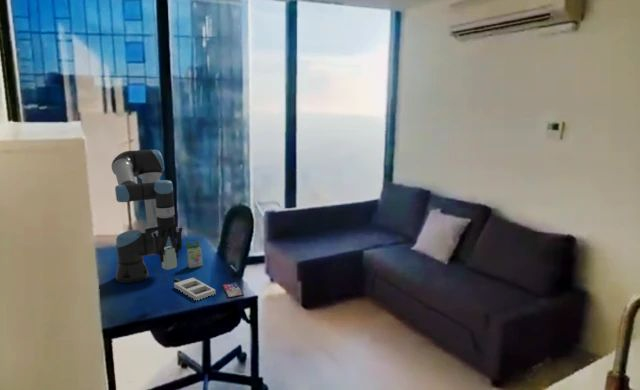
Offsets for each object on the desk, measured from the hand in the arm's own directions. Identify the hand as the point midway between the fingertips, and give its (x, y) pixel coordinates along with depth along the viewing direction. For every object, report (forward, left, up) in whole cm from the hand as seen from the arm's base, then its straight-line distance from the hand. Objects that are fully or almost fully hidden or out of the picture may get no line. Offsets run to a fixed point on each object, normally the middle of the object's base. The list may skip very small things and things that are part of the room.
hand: (169, 266), depth 201 cm
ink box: (-27, +27, -15) cm, 41 cm away
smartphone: (+12, +24, -16) cm, 32 cm away
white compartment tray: (-4, +11, -15) cm, 19 cm away
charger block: (0, 0, 0) cm, 0 cm away
